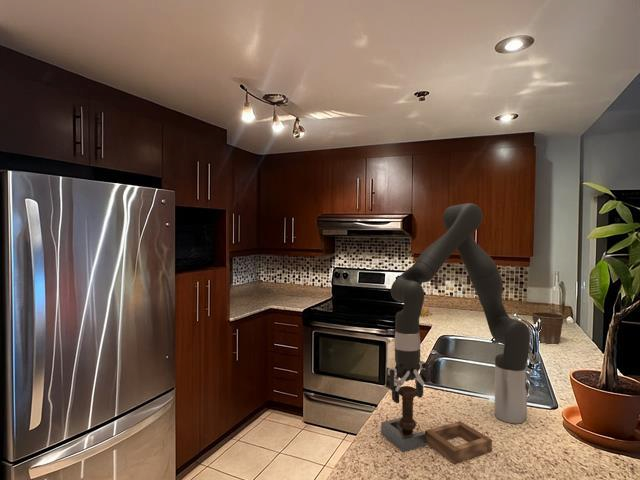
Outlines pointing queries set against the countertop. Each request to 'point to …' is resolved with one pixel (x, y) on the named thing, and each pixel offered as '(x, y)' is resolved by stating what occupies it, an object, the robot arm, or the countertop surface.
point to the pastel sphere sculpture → (425, 312)
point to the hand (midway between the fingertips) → (407, 399)
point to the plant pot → (549, 327)
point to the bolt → (407, 409)
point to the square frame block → (456, 454)
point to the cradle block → (402, 436)
